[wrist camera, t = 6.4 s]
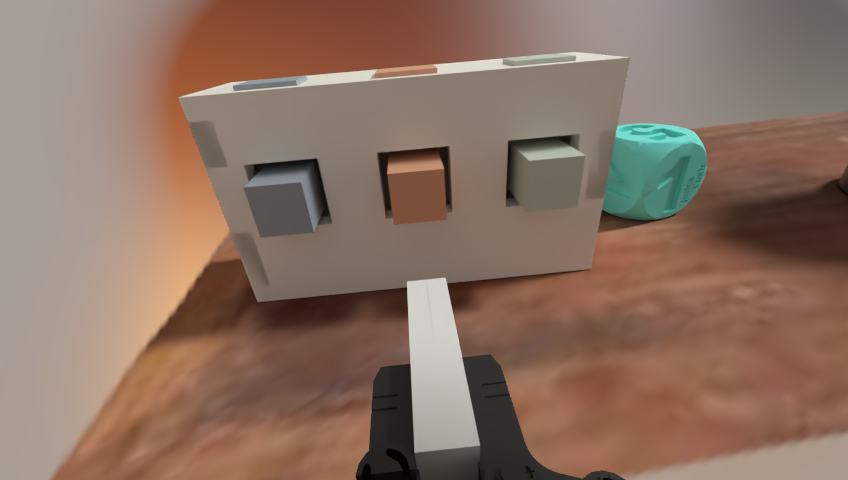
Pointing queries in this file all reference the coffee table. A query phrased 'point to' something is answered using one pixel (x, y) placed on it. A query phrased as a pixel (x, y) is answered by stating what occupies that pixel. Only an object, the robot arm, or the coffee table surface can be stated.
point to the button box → (406, 130)
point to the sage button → (544, 173)
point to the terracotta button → (416, 186)
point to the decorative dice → (653, 171)
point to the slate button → (286, 197)
